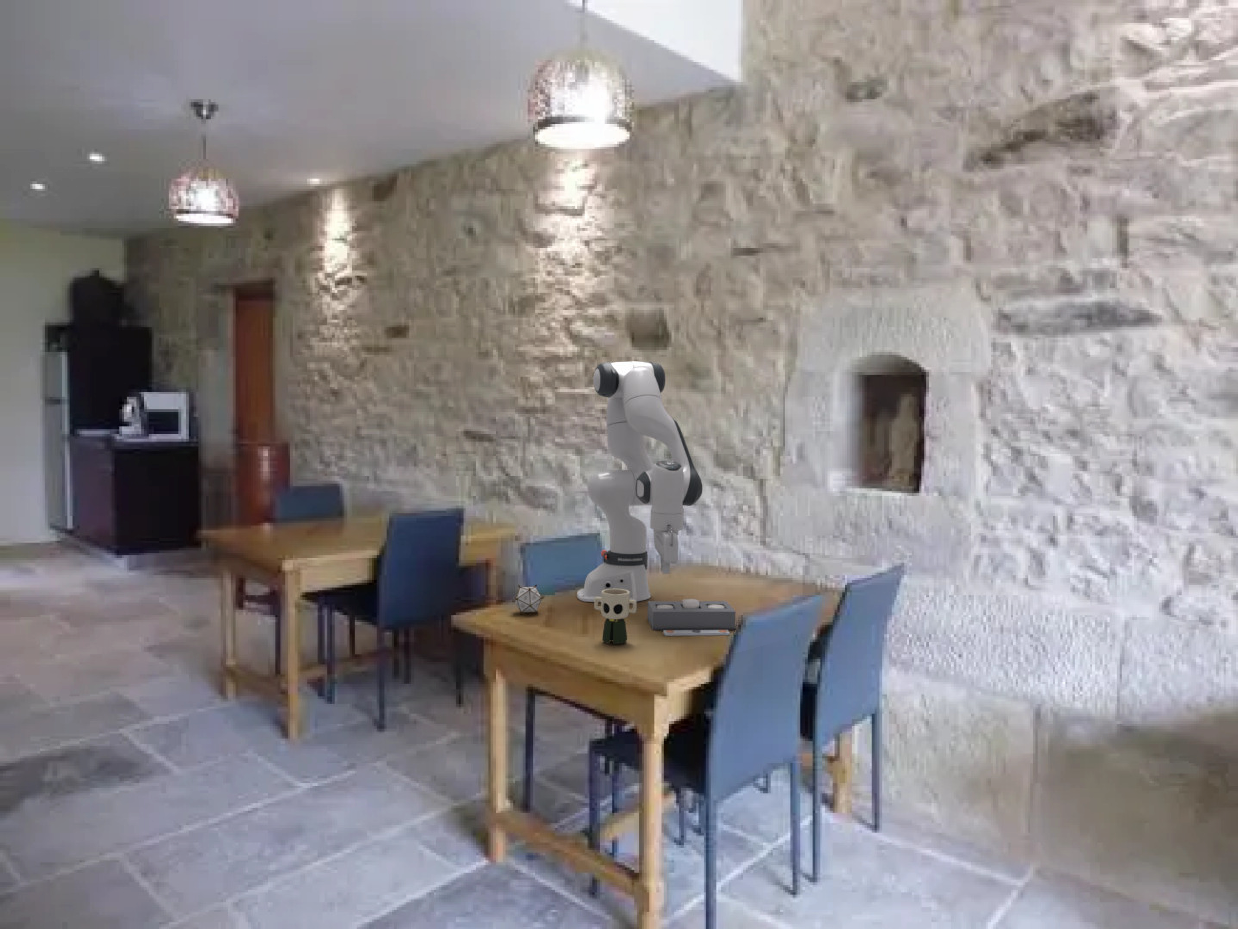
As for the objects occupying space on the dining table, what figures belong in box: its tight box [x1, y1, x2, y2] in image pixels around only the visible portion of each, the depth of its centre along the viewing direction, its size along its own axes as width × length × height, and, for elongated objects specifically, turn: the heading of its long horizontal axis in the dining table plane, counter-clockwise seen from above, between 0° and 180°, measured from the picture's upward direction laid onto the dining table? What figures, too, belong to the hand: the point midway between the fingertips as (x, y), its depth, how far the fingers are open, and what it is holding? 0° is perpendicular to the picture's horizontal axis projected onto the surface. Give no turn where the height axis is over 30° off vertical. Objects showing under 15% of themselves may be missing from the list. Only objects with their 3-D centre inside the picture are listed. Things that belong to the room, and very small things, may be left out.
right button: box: [708, 605, 724, 608], centre depth 243 cm, size 4×4×3 cm
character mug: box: [593, 589, 638, 645], centre depth 223 cm, size 11×7×13 cm, turn 75°
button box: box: [646, 600, 736, 631], centre depth 242 cm, size 22×12×5 cm, turn 95°
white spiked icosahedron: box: [511, 584, 545, 615], centre depth 251 cm, size 9×8×10 cm
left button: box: [657, 605, 673, 609], centre depth 242 cm, size 4×4×3 cm
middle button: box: [682, 598, 700, 609], centre depth 242 cm, size 4×4×3 cm
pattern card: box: [662, 630, 731, 637], centre depth 233 cm, size 17×3×1 cm, turn 95°
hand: (665, 572), depth 241 cm, fingers closed
